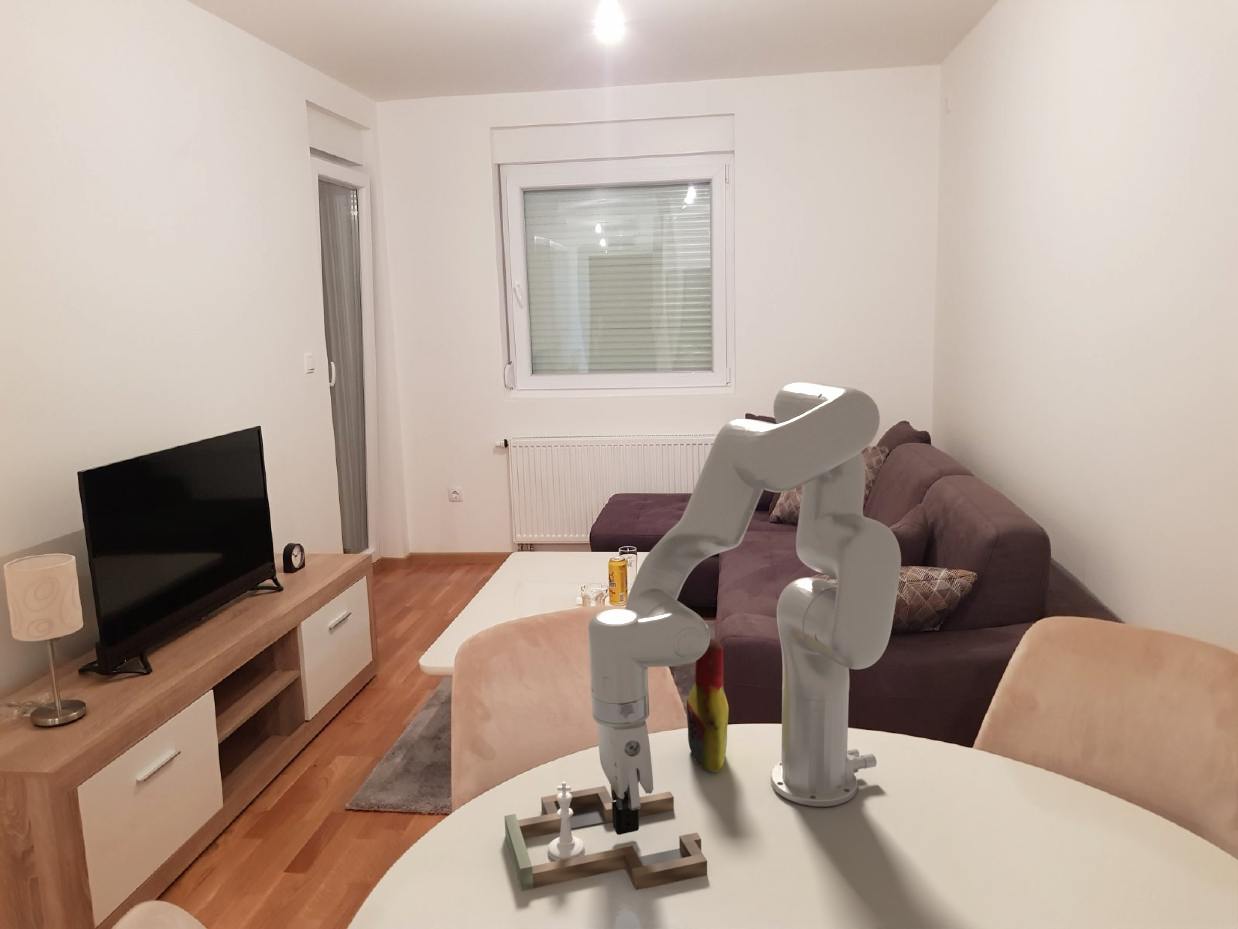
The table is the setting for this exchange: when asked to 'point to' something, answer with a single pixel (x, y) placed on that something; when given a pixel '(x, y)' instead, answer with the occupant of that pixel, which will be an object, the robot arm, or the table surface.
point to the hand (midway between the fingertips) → (626, 829)
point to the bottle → (708, 710)
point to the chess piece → (565, 830)
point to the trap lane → (598, 810)
